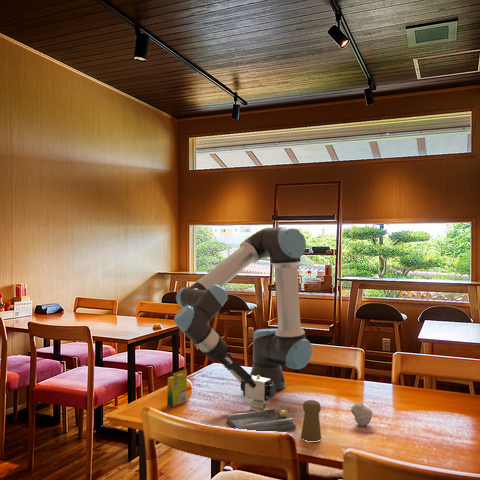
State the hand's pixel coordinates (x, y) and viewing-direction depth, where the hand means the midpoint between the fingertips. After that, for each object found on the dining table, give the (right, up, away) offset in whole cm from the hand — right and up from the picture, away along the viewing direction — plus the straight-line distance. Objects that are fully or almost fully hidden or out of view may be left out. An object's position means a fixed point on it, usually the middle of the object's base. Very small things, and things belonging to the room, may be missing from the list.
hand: (252, 386), depth 155 cm
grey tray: (+2, -8, -13) cm, 15 cm away
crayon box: (-27, -8, +6) cm, 28 cm away
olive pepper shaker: (+17, -8, -22) cm, 29 cm away
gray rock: (+35, -9, -11) cm, 38 cm away
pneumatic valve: (+2, -9, +1) cm, 9 cm away
